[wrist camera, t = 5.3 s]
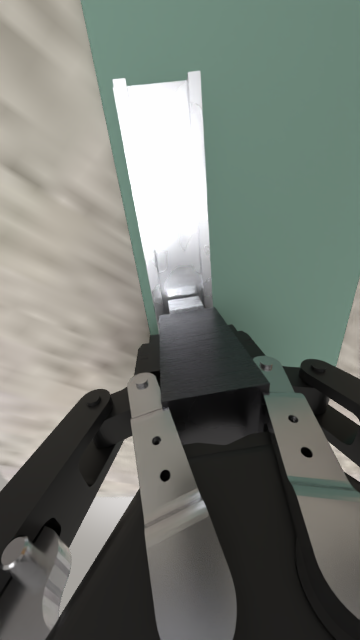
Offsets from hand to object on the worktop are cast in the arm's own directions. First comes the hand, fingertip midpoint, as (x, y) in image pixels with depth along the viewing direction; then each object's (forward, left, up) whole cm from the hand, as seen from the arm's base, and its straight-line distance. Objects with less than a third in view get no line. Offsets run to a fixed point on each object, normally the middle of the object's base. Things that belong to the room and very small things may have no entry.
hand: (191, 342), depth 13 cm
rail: (0, +1, -5) cm, 5 cm away
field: (-6, +4, -5) cm, 8 cm away
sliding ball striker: (-4, +4, -4) cm, 7 cm away
